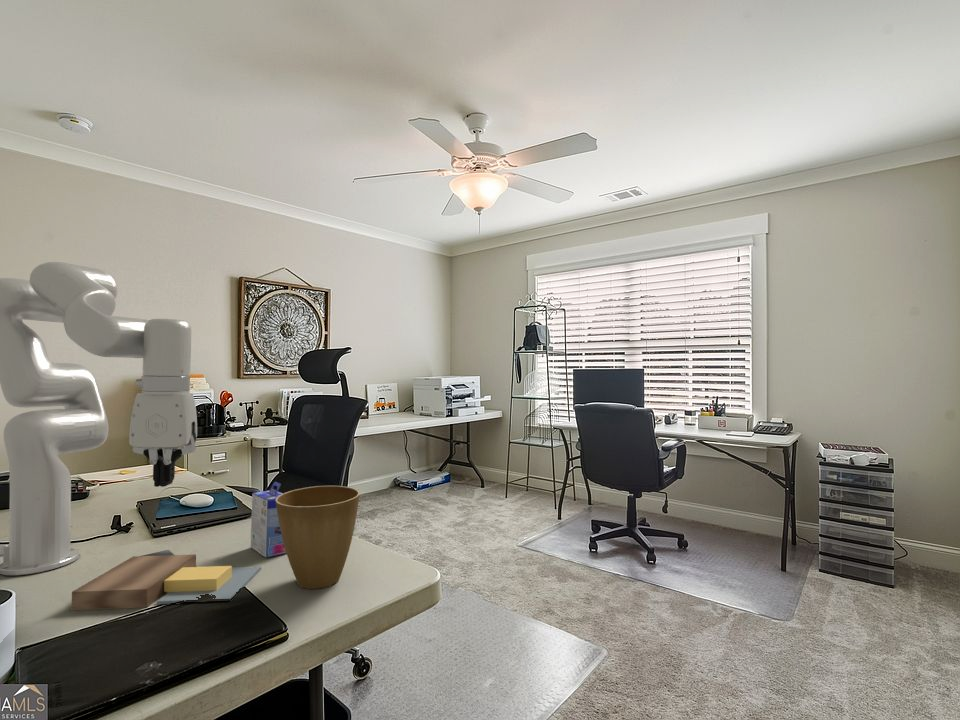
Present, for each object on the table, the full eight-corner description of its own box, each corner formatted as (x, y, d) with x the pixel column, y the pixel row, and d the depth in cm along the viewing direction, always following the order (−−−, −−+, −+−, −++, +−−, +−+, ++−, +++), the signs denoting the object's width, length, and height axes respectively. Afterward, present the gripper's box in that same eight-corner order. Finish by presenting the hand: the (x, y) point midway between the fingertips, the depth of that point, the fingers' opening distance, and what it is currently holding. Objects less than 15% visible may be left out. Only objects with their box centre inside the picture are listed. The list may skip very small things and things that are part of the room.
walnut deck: (71, 610, 82) (71, 591, 82) (133, 571, 98) (133, 556, 98) (147, 607, 83) (147, 589, 83) (196, 569, 99) (196, 554, 99)
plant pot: (265, 578, 94) (265, 493, 94) (341, 560, 103) (341, 482, 103) (289, 607, 82) (289, 510, 83) (373, 583, 91) (372, 495, 92)
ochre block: (164, 592, 88) (164, 580, 88) (182, 578, 94) (182, 567, 94) (216, 590, 88) (216, 578, 88) (231, 576, 94) (231, 565, 94)
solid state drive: (141, 574, 98) (141, 570, 98) (130, 561, 105) (130, 558, 105) (181, 564, 103) (181, 561, 103) (168, 552, 110) (168, 549, 110)
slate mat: (156, 604, 84) (157, 601, 84) (198, 571, 98) (198, 568, 98) (230, 601, 85) (230, 598, 85) (261, 569, 99) (261, 566, 99)
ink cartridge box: (292, 552, 108) (292, 485, 108) (266, 559, 104) (266, 489, 105) (275, 541, 115) (274, 478, 116) (249, 547, 111) (249, 482, 112)
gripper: (110, 385, 88) (107, 489, 88) (198, 387, 89) (195, 490, 89) (137, 384, 96) (134, 480, 96) (217, 385, 97) (214, 480, 97)
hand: (163, 484), depth 92 cm, fingers closed
